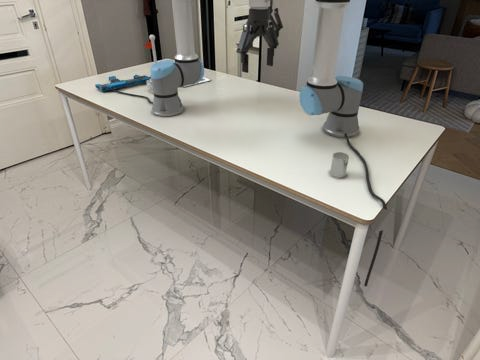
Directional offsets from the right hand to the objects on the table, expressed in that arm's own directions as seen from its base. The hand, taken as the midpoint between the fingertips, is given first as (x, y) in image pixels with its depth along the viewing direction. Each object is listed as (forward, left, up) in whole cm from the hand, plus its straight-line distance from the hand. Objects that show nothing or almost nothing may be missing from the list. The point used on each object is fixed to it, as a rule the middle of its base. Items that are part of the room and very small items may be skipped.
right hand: (263, 45), depth 167 cm
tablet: (+57, +26, -28) cm, 68 cm away
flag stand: (+40, +46, -28) cm, 67 cm away
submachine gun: (+62, +62, -28) cm, 92 cm away
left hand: (-36, +22, 0) cm, 42 cm away
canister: (-77, +11, -28) cm, 83 cm away
